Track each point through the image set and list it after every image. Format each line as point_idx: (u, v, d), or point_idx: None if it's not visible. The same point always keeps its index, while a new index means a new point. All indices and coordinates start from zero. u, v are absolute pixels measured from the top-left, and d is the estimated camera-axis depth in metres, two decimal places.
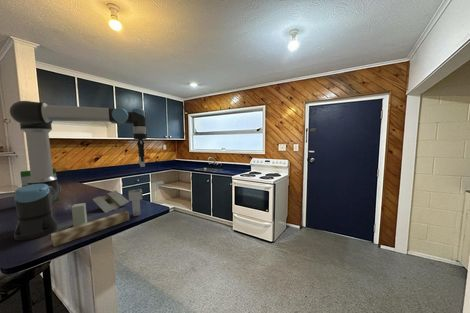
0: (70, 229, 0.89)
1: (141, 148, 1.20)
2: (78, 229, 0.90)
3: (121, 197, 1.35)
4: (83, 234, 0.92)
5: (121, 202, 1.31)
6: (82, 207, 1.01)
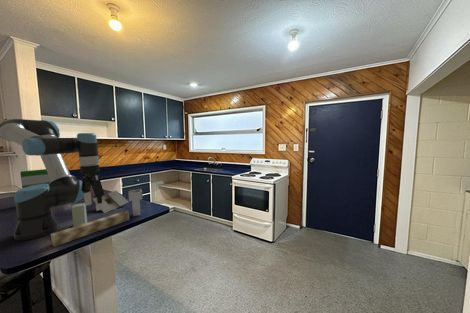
0: (70, 229, 0.89)
1: (98, 186, 0.90)
2: (78, 229, 0.90)
3: (121, 197, 1.34)
4: (83, 234, 0.92)
5: (120, 203, 1.30)
6: (82, 207, 1.01)
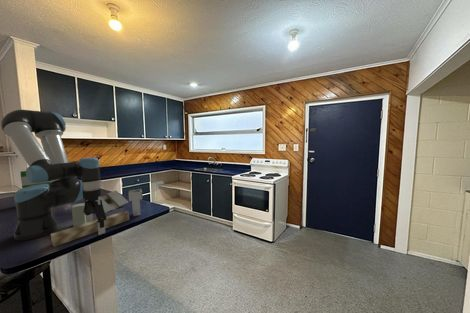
0: (69, 229, 0.89)
1: (100, 211, 0.91)
2: (78, 229, 0.90)
3: (121, 197, 1.34)
4: (83, 234, 0.91)
5: (120, 203, 1.30)
6: (82, 207, 1.01)
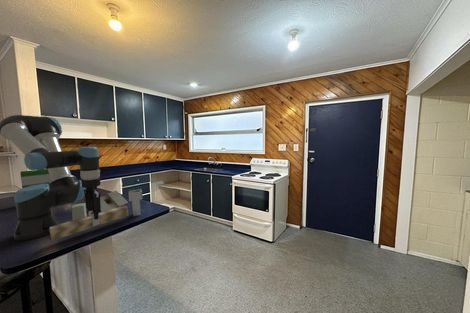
0: (68, 222, 0.89)
1: (97, 203, 0.93)
2: (77, 222, 0.90)
3: (121, 197, 1.34)
4: (82, 228, 0.91)
5: (119, 203, 1.30)
6: (82, 207, 1.01)
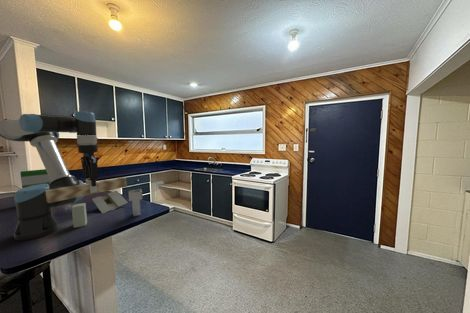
0: (65, 187, 0.87)
1: (94, 169, 0.91)
2: (74, 188, 0.88)
3: (120, 198, 1.33)
4: (79, 194, 0.90)
5: (119, 203, 1.29)
6: (82, 207, 1.01)
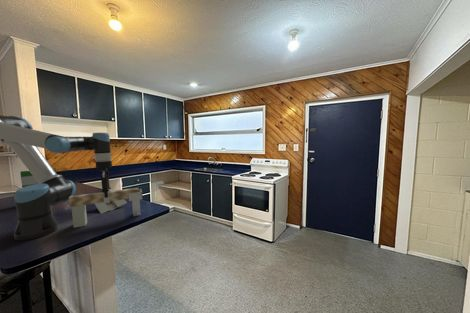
0: (84, 194, 1.04)
1: (104, 183, 1.03)
2: (90, 196, 1.03)
3: None
4: (94, 201, 1.04)
5: (118, 203, 1.29)
6: (82, 207, 1.01)
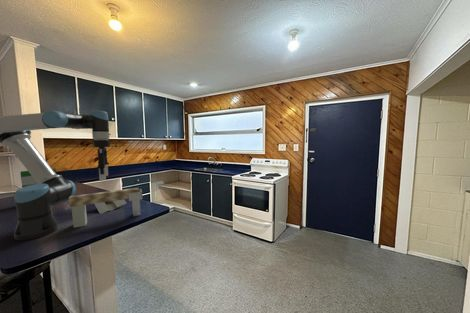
0: (84, 194, 1.04)
1: (100, 158, 0.99)
2: (90, 196, 1.03)
3: None
4: (94, 201, 1.04)
5: (118, 204, 1.28)
6: (82, 207, 1.01)
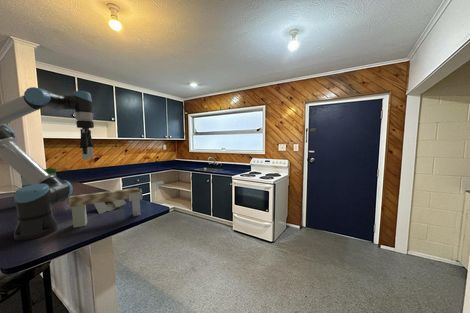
0: (84, 194, 1.04)
1: (83, 138, 0.99)
2: (90, 196, 1.03)
3: None
4: (94, 201, 1.04)
5: (117, 204, 1.28)
6: (82, 207, 1.01)
